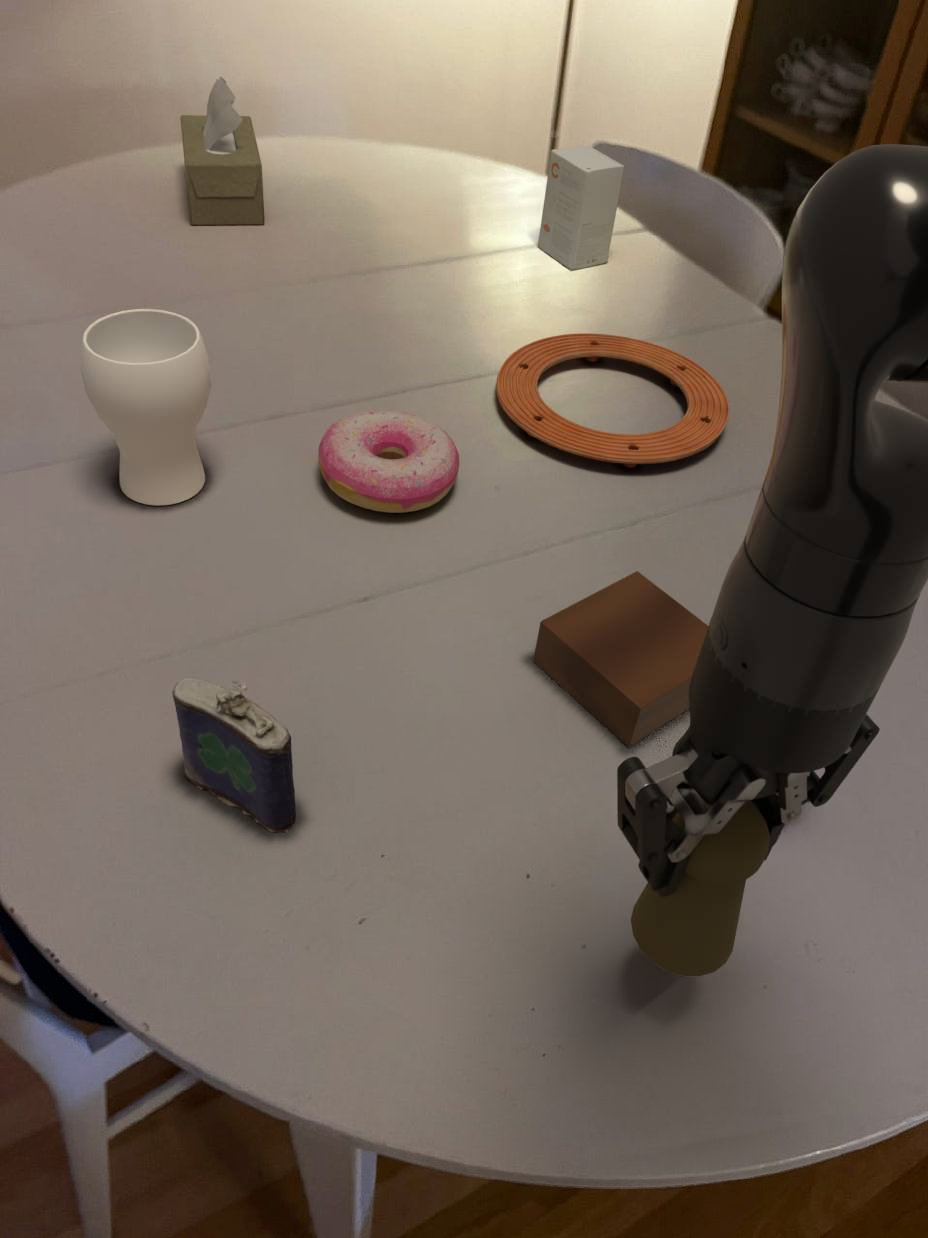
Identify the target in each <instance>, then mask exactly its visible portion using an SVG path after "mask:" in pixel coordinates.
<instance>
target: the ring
mask: <svg viewBox="0 0 928 1238" xmlns="http://www.w3.org/2000/svg"><path fill="white" fill-rule="evenodd" d="M580 358H581V359H582V358H585V360H587V361H588V362H597V361H598V360H599V359H600V358H610V359H618V360H623V361H628V362H632V363H636V364H639V365H642V366H645V367H647V368H650V369H652V370H655V372H658V373H660V374H662V375H663V376H665V377H666V378H667V379H669V380H670V384H671V385H672V386H674V387H678V388H679V389H680V391H681V392H682V393H683V395H684V397H685V400H686V406H687V409H686V412H685V414H684V415H683V417H682V418H681V419H679V420H678V421H677V422H676V423H674V424H673V425H671V426H669V427H668V426H667V427H666V428H664V429H660V430H657V431H652V432H645V433H634V434H633V433H615V432H614V433H613V432H607V431H602V430H598V429H593V428H589V427H587V426H583V425H581V424H578V423H576V422H573V421H572V420H569V419H568V418H565V417H564V416H562V415H560V414H559V413H557V412H556V411H554V410H553V409H552V408H551V407H550V406H549V405H548V404H547V403H546V402H545V401H544V400H543V398H542V396H541V395H540V392H539V389H538V381H539V380H540V377H541V376H542V374H543V373H544V372H546V371H547V370H548V369H549V368H551V367H553V366H555V365H557V364H559V363H562V362H566V361H569V360H573V359H580ZM495 391H496V396H497V399H498V403H499V404H500V406H501V408H502V410H503V411H504V412H505V414H506V415H507V416H508V418H509V419H510V420H511V421H513V423H515V424H516V425H517V426H518V427H519V428H520V429H522V430H523V431H524V432H526V433H527V435H528V436H529V437H531V438H536V439H537V440H539V441H541V442H542V443H545V444H546V445H549V446H551V447H554V448H556V449H559V450H561V451H564V452H567V453H570V454H573V455H576V456H580V457H584V458H587V459H592V460H596V461H601V462H607V463H614V464H621V465H623V466H624V467H626V468H635V467H636V466H637V465H649V464H651V465H652V464H661V463H668V462H669V463H670V462H674V461H678V460H682V459H686V458H688V457H692V456H694V455H696V454H698V453H700V452H702V451H704V450H706V449H707V448H709V447H711V445H713V444H714V443H715V442H716V441H717V440H718V439H719V438H720V437H721V435H722V434H723V432H724V431H725V428H726V426H727V424H728V421H729V417H730V410H731V409H730V404H729V403H730V402H729V399H728V397H727V394H726V392H725V390H724V388H723V386H721V384H720V383H719V381H718V380H717V379H716V378H715V377H714V376H713V375H712V374H711V373H710V372H709V371H707V370H706V369H705V368H703V367H702V366H701V365H699V364H698V363H696V362H695V361H694V360H692V359H690V358H689V357H687V356H685V355H683V354H681V353H678V352H676V351H675V350H672V349H670V348H667V347H665V346H662V345H658V344H655V343H652V342H648V341H645V340H641V339H636V338H632V337H627V336H622V335H614V334H607V333H590V332H589V333H588V332H587V333H583V332H582V333H567V334H566V333H565V334H559V335H553V336H549V337H543V338H541V339H537V340H535V341H532V342H530V343H527V344H525V345H523V346H521V347H520V348H518V349H516V350H515V351H513V352H512V354H510V355H509V356H508V358H506V360H505V361H504V362H503V364H502V365H501V367H500V369H499V372H498V374H497V377H496V384H495Z"/></svg>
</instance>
